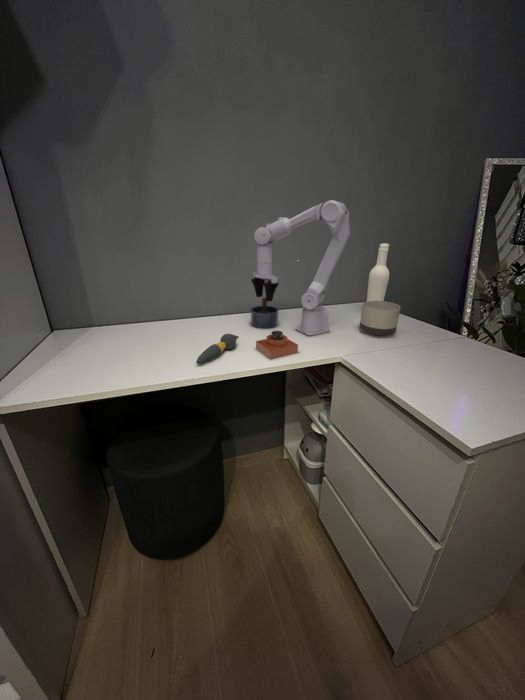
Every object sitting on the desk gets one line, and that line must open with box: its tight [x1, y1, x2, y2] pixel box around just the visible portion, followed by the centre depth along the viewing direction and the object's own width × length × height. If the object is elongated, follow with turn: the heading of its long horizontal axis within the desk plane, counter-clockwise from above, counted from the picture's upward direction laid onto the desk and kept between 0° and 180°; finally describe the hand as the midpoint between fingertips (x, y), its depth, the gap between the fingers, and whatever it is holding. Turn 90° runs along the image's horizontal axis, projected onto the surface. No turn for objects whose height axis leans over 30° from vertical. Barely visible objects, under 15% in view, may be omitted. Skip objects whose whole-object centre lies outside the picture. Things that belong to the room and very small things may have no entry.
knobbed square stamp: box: [255, 334, 299, 360], centre depth 94 cm, size 10×9×4 cm
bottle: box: [366, 243, 390, 301], centre depth 124 cm, size 8×8×30 cm
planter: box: [358, 300, 401, 337], centre depth 109 cm, size 13×13×10 cm
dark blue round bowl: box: [250, 305, 279, 330], centre depth 118 cm, size 11×11×6 cm
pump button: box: [270, 330, 284, 340], centre depth 93 cm, size 4×4×2 cm
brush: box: [258, 297, 271, 313], centre depth 117 cm, size 6×6×10 cm
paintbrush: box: [195, 333, 240, 365], centre depth 91 cm, size 20×5×5 cm, turn 155°
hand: (264, 298), depth 115 cm, fingers open, 7 cm apart
